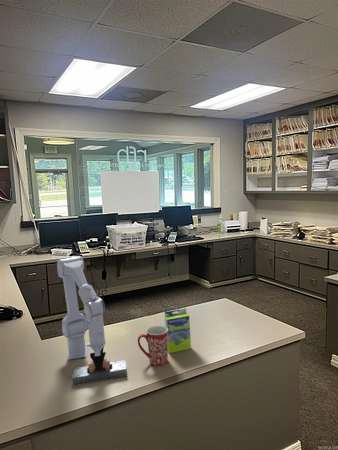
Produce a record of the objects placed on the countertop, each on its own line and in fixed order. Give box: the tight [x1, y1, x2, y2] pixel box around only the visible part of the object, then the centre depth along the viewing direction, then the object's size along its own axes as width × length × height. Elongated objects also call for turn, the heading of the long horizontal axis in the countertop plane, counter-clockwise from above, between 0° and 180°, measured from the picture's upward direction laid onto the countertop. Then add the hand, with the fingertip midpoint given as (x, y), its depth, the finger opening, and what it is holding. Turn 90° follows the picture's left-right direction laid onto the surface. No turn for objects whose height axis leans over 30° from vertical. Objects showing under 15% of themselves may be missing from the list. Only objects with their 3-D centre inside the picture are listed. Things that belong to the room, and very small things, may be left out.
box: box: [164, 307, 192, 354], centre depth 144 cm, size 11×4×17 cm, turn 108°
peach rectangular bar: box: [87, 357, 111, 373], centre depth 127 cm, size 2×8×6 cm, turn 101°
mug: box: [137, 325, 169, 367], centre depth 135 cm, size 13×9×14 cm
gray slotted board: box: [71, 359, 128, 386], centre depth 128 cm, size 7×20×3 cm, turn 102°
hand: (99, 365), depth 127 cm, fingers open, 7 cm apart
